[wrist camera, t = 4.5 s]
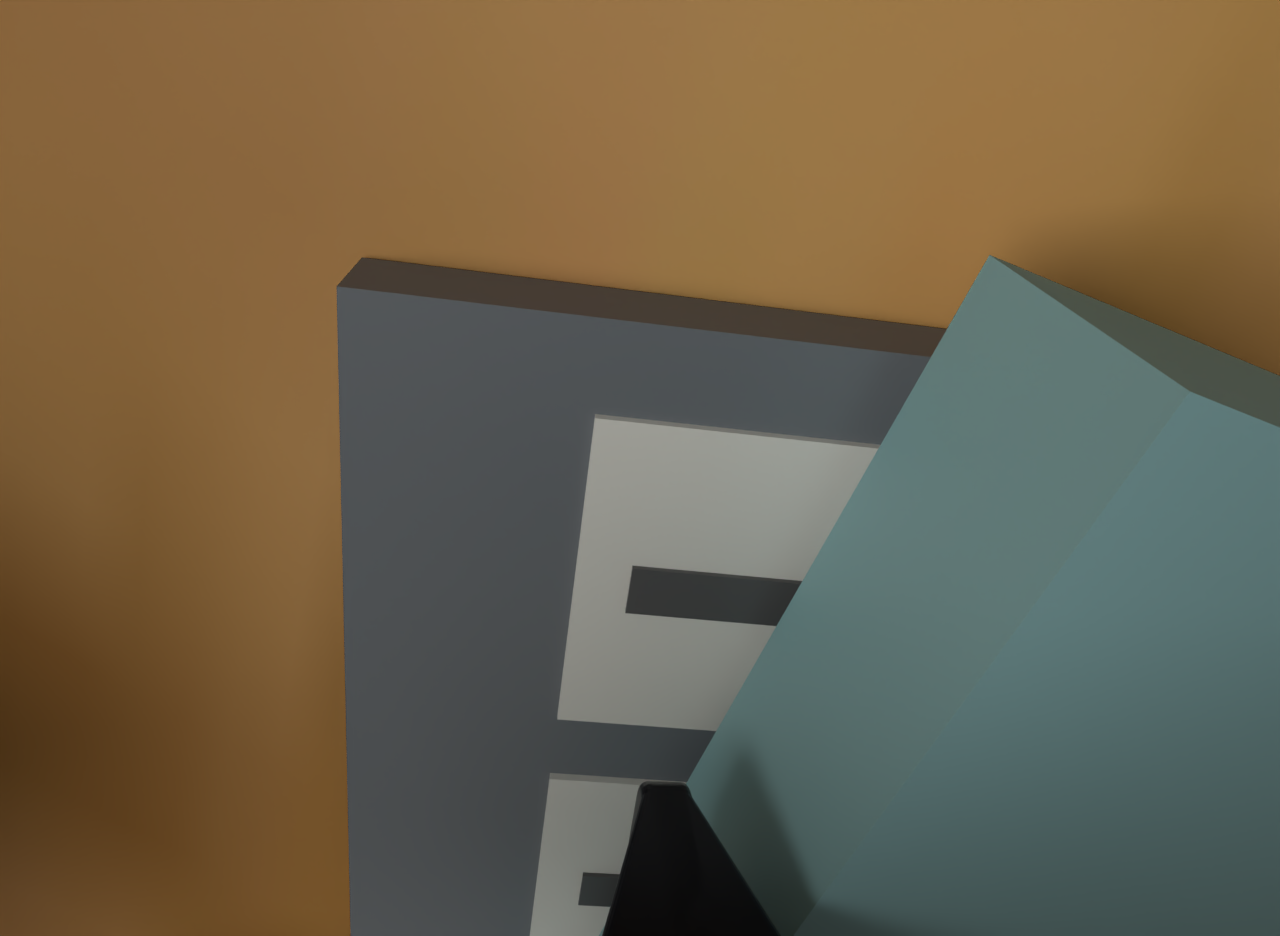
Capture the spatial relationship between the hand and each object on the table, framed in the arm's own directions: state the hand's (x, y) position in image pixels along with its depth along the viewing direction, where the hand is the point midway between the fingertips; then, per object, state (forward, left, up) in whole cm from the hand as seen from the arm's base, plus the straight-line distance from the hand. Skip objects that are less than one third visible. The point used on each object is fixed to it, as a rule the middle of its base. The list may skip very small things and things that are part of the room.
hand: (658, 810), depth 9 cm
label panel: (+1, -1, -3) cm, 4 cm away
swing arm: (+3, -4, -2) cm, 5 cm away
